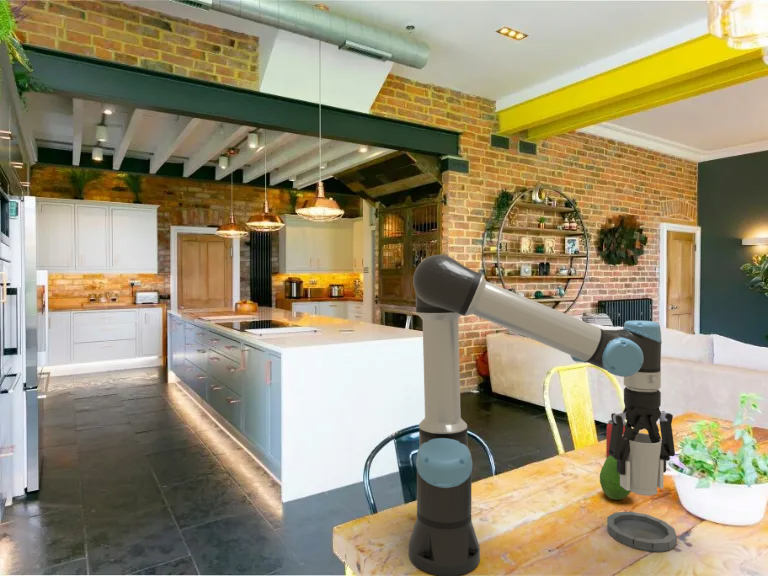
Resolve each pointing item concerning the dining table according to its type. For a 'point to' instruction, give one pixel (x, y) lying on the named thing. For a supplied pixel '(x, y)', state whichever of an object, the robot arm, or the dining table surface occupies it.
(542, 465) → the dining table surface
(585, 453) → the dining table surface
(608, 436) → the beer can
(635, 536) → the saucer
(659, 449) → the cup
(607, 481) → the fruit
